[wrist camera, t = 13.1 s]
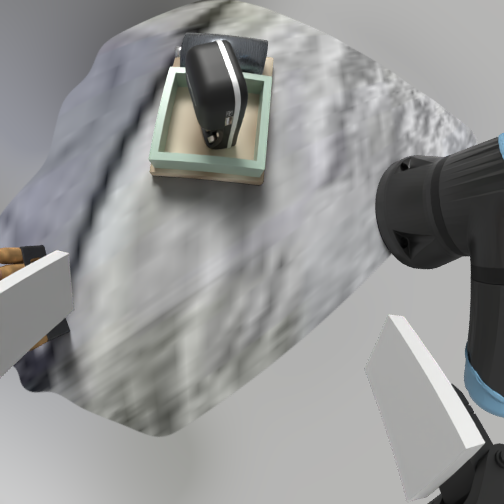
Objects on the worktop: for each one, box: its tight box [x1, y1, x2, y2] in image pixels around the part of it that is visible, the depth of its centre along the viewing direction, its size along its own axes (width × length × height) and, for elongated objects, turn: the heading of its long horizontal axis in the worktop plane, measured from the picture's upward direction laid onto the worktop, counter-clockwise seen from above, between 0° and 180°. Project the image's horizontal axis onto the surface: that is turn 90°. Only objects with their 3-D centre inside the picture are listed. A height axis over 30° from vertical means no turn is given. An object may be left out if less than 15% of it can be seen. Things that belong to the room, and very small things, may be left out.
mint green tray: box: [149, 33, 273, 185], centre depth 27 cm, size 12×17×6 cm
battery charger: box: [185, 40, 248, 150], centre depth 23 cm, size 7×4×11 cm, turn 17°
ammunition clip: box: [0, 245, 70, 351], centre depth 22 cm, size 11×2×12 cm, turn 18°
